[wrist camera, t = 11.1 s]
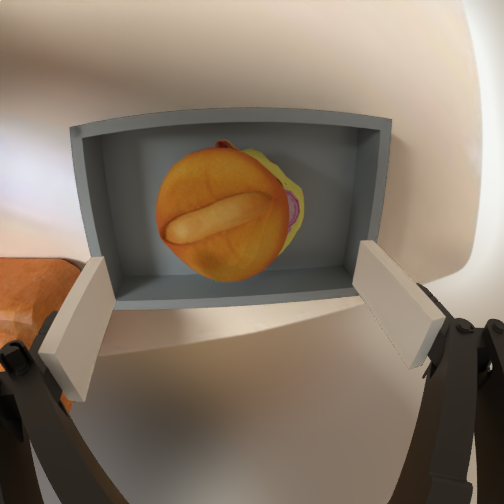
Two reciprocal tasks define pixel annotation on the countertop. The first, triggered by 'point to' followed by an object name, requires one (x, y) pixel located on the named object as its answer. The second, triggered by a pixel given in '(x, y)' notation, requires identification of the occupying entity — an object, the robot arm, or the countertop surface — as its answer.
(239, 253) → the cheeseburger
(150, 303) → the box
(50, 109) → the countertop surface
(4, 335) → the bread
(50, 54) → the countertop surface
